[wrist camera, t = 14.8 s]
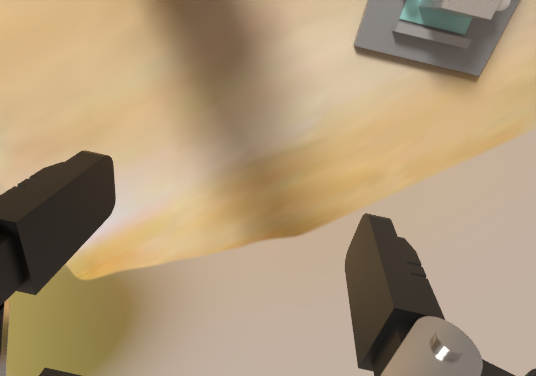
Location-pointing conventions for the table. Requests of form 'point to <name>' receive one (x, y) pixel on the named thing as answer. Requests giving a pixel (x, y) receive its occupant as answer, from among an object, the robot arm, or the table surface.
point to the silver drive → (463, 7)
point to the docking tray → (432, 34)
